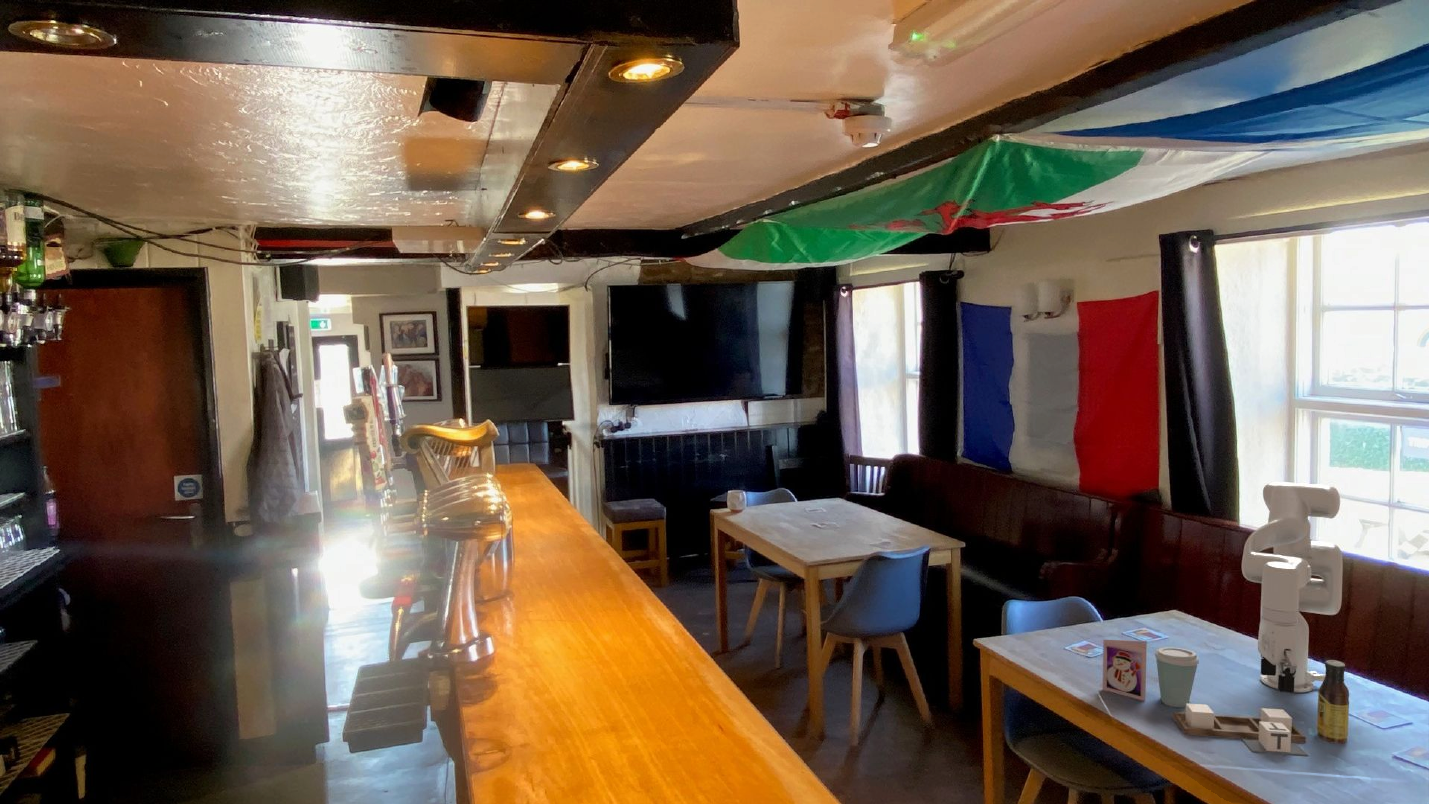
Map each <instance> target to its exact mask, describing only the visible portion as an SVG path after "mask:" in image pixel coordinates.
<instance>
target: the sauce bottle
mask: <svg viewBox="0 0 1429 804" xmlns="http://www.w3.org/2000/svg"><path fill="white" fill-rule="evenodd" d="M1324 668H1325V674H1324V675H1325V679H1324V681H1322V683H1321V685H1320V687H1319V688H1318V694H1317V695H1318V696H1317V715H1316V716H1317V718H1316V730H1317V731H1316V732H1317V734H1316V735H1317V736H1318V737H1319V738H1320V739H1321V740H1324V741H1327V742H1329V743H1334V744H1345V743H1346V742H1347V741H1348V733H1349V732H1348V731H1349V715H1350V714H1349V713H1350V701H1349V699H1350V698H1349V697H1350V690H1349V688H1348V687H1347V685H1346V684H1345V682H1344V681H1345V672H1346V664H1345V662H1342V661H1339V660H1335V659H1328V660H1326V661H1325V662H1324Z"/></svg>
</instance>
